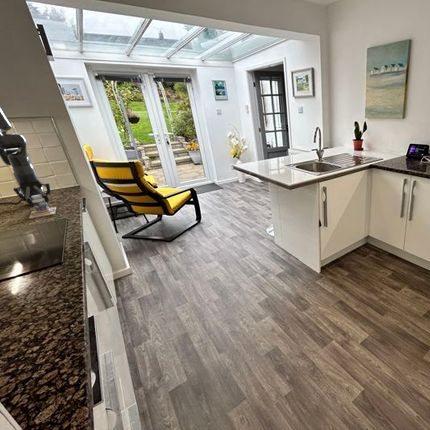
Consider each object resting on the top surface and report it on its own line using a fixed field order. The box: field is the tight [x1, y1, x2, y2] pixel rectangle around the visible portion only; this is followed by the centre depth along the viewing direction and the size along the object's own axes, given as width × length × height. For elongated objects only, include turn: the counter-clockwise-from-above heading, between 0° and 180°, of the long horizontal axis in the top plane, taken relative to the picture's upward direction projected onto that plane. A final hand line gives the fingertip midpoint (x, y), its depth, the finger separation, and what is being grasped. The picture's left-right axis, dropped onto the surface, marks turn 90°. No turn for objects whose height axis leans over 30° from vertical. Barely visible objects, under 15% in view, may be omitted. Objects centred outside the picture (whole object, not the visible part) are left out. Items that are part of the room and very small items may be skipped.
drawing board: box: [28, 206, 57, 221], centre depth 146 cm, size 16×10×1 cm, turn 42°
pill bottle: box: [31, 195, 50, 212], centre depth 145 cm, size 5×5×9 cm
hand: (39, 203), depth 145 cm, fingers closed on pill bottle, 5 cm apart
